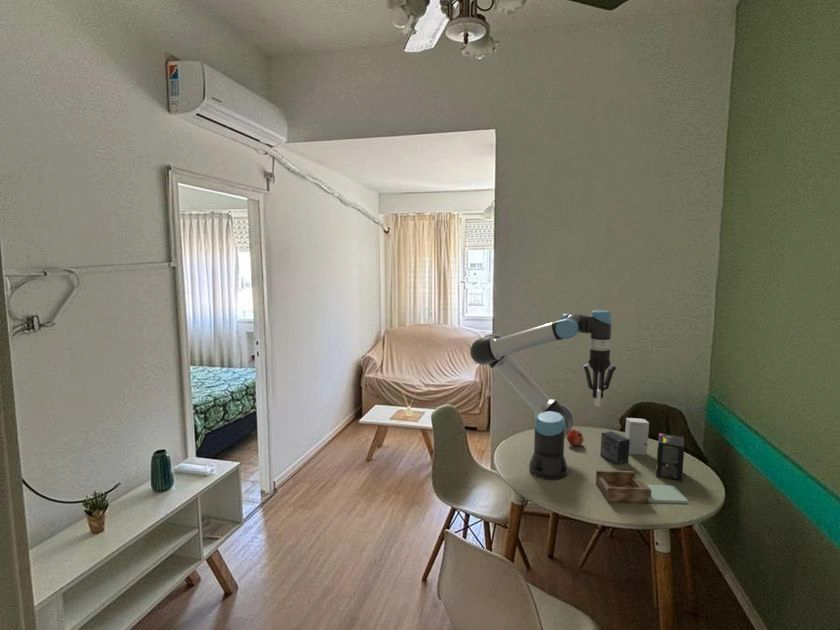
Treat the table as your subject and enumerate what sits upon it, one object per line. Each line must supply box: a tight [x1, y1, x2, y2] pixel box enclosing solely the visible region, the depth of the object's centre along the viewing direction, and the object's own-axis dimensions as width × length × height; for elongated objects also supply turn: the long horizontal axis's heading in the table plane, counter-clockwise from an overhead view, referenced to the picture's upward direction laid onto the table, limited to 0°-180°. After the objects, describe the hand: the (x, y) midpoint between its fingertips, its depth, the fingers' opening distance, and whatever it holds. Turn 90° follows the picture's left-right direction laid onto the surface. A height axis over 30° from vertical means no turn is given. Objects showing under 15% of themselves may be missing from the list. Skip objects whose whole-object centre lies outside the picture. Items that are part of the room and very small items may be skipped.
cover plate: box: [638, 480, 689, 504], centre depth 175 cm, size 14×11×4 cm
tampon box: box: [655, 432, 685, 482], centre depth 191 cm, size 11×9×15 cm
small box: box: [599, 431, 630, 466], centre depth 205 cm, size 11×6×10 cm, turn 22°
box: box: [595, 469, 650, 505], centre depth 176 cm, size 14×14×6 cm
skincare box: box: [624, 417, 650, 456], centre depth 212 cm, size 8×6×15 cm
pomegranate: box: [566, 429, 584, 447], centre depth 220 cm, size 7×7×10 cm
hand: (597, 405), depth 194 cm, fingers closed
